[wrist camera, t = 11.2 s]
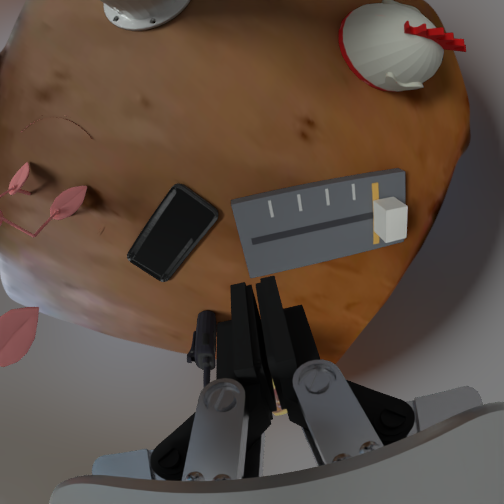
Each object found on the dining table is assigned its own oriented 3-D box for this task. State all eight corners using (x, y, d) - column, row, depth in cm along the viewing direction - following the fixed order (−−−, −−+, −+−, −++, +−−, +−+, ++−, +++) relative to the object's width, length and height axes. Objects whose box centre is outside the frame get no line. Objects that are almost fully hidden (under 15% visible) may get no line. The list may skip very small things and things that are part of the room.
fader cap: (373, 200, 38) (386, 210, 34) (393, 196, 38) (407, 206, 34) (373, 231, 40) (385, 243, 37) (393, 226, 40) (406, 237, 36)
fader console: (231, 200, 39) (231, 205, 37) (398, 168, 38) (405, 171, 36) (249, 271, 45) (250, 279, 43) (398, 236, 44) (404, 241, 42)
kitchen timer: (417, 100, 33) (488, 110, 19) (338, 82, 32) (397, 74, 18) (416, 23, 26) (482, 9, 13) (337, -3, 25) (388, -41, 12)
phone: (124, 258, 41) (176, 181, 36) (126, 254, 42) (177, 179, 37) (165, 284, 44) (222, 215, 39) (166, 280, 45) (222, 212, 40)
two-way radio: (217, 330, 50) (216, 399, 37) (193, 330, 50) (186, 398, 37) (216, 308, 48) (214, 378, 35) (190, 307, 47) (181, 378, 34)
